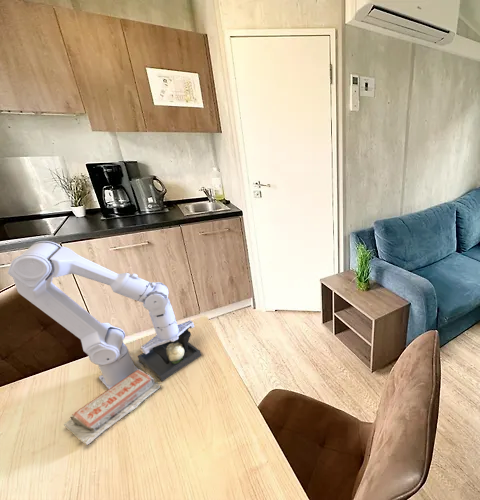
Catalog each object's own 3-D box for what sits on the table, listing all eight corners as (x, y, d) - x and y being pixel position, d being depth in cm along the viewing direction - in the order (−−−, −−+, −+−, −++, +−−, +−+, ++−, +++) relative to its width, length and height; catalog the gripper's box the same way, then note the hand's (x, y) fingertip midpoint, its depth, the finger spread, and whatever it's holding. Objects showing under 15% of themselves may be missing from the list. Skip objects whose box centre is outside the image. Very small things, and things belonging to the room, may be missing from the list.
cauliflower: (164, 361, 90) (159, 347, 88) (180, 351, 94) (176, 338, 92) (173, 368, 87) (168, 354, 85) (189, 358, 91) (185, 344, 89)
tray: (139, 360, 91) (137, 356, 90) (178, 338, 100) (176, 334, 100) (161, 381, 84) (159, 376, 83) (201, 355, 93) (200, 350, 92)
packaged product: (135, 364, 83) (157, 376, 80) (140, 376, 85) (161, 388, 82) (57, 416, 69) (79, 433, 65) (65, 429, 71) (86, 447, 67)
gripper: (144, 341, 77) (157, 377, 83) (195, 314, 88) (204, 347, 94) (132, 331, 81) (146, 367, 86) (183, 306, 92) (192, 339, 97)
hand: (175, 356), depth 90 cm, fingers closed on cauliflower, 5 cm apart
